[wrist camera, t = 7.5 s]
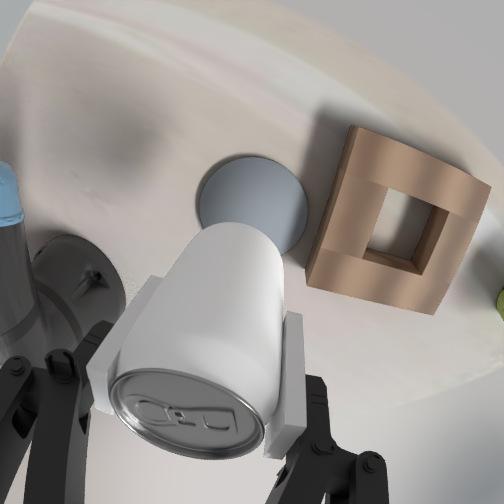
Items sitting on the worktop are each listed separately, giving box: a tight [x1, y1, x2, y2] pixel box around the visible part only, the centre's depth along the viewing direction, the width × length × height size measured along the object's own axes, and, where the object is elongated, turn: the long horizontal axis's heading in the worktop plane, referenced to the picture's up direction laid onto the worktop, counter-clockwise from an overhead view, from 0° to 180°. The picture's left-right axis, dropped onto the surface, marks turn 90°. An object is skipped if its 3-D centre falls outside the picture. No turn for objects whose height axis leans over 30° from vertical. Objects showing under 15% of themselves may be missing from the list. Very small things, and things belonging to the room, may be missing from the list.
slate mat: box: [199, 157, 308, 256], centre depth 31 cm, size 11×11×1 cm
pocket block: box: [305, 126, 491, 315], centre depth 29 cm, size 16×16×4 cm
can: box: [109, 222, 284, 460], centre depth 15 cm, size 6×6×12 cm
